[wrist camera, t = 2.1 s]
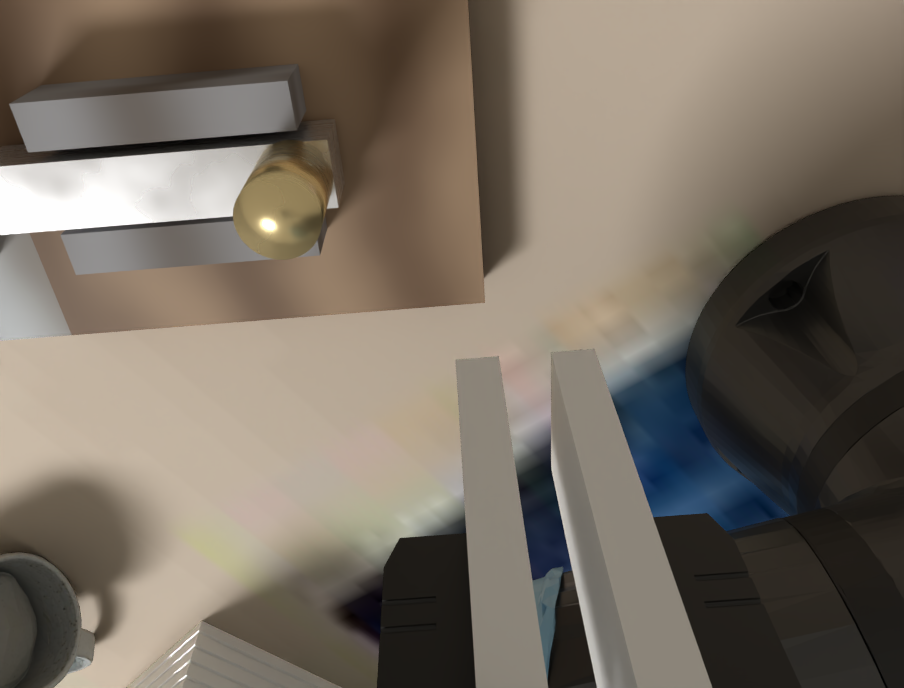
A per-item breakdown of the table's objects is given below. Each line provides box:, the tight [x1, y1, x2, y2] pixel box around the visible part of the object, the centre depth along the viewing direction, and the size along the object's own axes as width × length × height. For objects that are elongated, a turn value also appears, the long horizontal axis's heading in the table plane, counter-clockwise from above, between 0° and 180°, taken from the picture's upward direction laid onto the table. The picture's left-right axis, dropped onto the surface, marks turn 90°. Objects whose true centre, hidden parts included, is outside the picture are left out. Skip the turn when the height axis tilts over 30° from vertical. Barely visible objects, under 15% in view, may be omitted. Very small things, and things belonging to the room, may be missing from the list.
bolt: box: [0, 119, 345, 260], centre depth 25 cm, size 12×3×6 cm, turn 94°
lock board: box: [0, 0, 485, 341], centre depth 26 cm, size 28×14×8 cm, turn 94°
